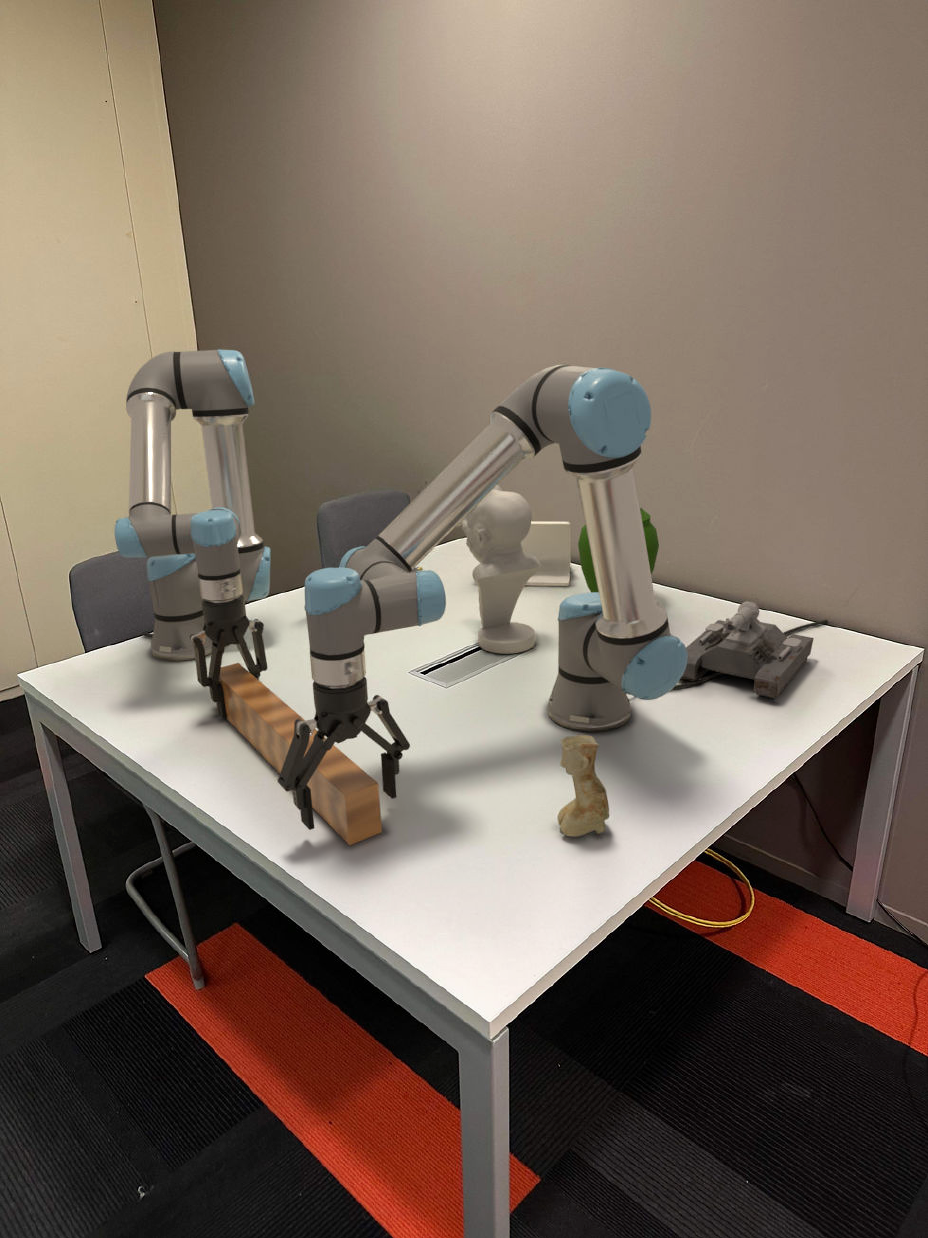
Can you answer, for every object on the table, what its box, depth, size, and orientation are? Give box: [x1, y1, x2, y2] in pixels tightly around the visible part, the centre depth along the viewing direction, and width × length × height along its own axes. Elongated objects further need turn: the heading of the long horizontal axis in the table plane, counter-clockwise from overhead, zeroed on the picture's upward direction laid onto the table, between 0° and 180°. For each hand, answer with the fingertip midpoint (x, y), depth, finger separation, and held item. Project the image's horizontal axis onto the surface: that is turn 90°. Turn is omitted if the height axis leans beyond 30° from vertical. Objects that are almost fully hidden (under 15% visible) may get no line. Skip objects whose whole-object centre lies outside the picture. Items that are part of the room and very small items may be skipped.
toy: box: [680, 600, 814, 700], centre depth 172 cm, size 25×20×15 cm
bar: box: [215, 662, 383, 846], centre depth 144 cm, size 55×5×8 cm, turn 35°
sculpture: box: [557, 734, 610, 838], centre depth 122 cm, size 6×7×15 cm
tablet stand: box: [520, 520, 572, 587], centre depth 236 cm, size 18×25×17 cm
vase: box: [577, 507, 660, 593], centre depth 210 cm, size 20×20×24 cm
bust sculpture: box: [455, 484, 542, 655], centre depth 190 cm, size 16×24×35 cm, turn 28°
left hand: (238, 710), depth 164 cm, fingers closed on bar, 5 cm apart
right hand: (350, 809), depth 127 cm, fingers open, 13 cm apart
